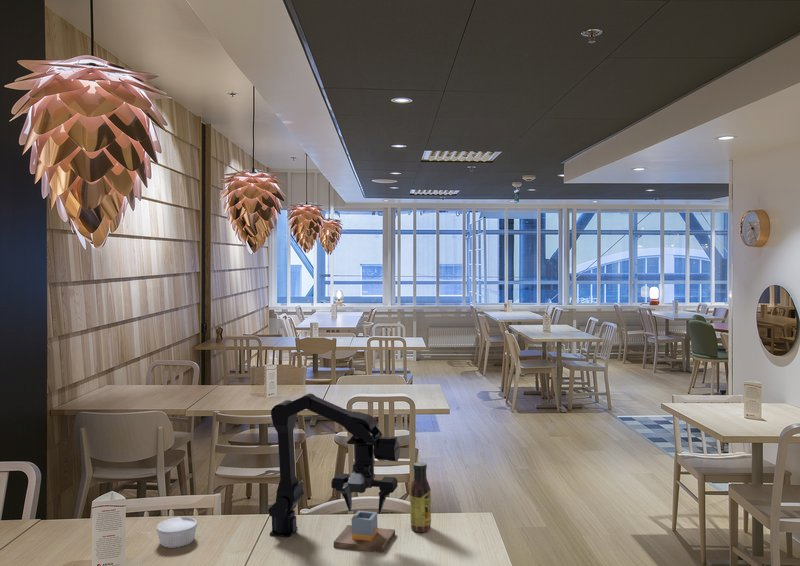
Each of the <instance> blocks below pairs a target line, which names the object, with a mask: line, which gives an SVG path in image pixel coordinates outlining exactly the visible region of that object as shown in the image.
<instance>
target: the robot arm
mask: <svg viewBox="0 0 800 566" xmlns="http://www.w3.org/2000/svg"><path fill="white" fill-rule="evenodd" d="M305 410H307V411H310V412H312V413H314V414H317V415H319V416H321V417H324V418H325V419H327V420H330V421H332V422H335V423H336V424H338V425H340V426H342V427H343V428H344V429H345V430H346V432H348V433H349V434H350V435H351V437H350V438H349V440H348V441H346V444H348V445H353V459H354V460H353V461H354V462H353V463H354V464H352V472H351V474H350V473H343V472H341V473H340V472H338V473H337V474H336V475H335V476H334V477H332V479H331V485H330V486H331V489H335V491H337V492H339V493H340V494H341V495H342V497H343V500H344V501H345V505H346V507H347V510H348V511H349V512H350V511H352V507H353V506H352V505H353V502H352V501H353V500H352V499H353V498H352V496H353V495H352V493H359V494H364V493H365V492H366V489H367V490H368V489H372V488H373V487H374V488H378V490H379V492H378V494H377V495H378V497H379V498H378V500H379V501H378V514H381V513H382V511H383V507H384V505H385V502H386V499H387V496H389V495H390V494H392V493H394V491H395V490H396V489H397V488H398V479H397V478H396V477H395V476H383V477H382V478H381V479H375V478H376V474H375V464H376V460H375V459H377V461H383V462H384V461H386V462H398V461H399V459H400V454H401V445H400V444H399V443H400V442H399V441H398V437H397V436H384V435H383V433H382V431H381V430H380V429H379V427H378V426H377V425H376V421H375V419H374V418H375V417H373V416H372V415H371V414H369V413H364V412H360V411H352V410H347V409H345V408H343V407H340V406H339V405H336V404H333V403H331V402H330V401H327V400H325V399H323V398H321V397H319V396H316V395H315V394H314V393H306V394H304V395H303V396H301V397H299V398H296V399H293V400H291V399H289V400H288V399H287V400H283V401H282V402H279V403H278V404H275V405H274V406H273V407H272V408H271V410H270V418H271V420H272V421H271V422H272V426H273V427H274V429H275V431H276V433H277V449H278V461H279V462H278V466H279V467H278V468H279V483H278V485H277V489H276V494H275V502H274V503H273V505H271V506H270V507H269V508H268V509H267V511H268V514H269V516H270V517H271V531H270V532H269V536H277V537H285V538H288V537H291V535H292V534H294V532H296V531H297V530H298V526H297V516H296V510H294V509H295V508H297V505H298V504H299V503H300V502H301V501H302V499H303V495H305V492H304V489H303V488H304V482H303V481H299V480H298V478H297V475H296V474H297V473H296V457H295V439H294V429H295V426H296V422H297V420H298V414H299V413H300V412H302V411H305Z"/></svg>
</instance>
